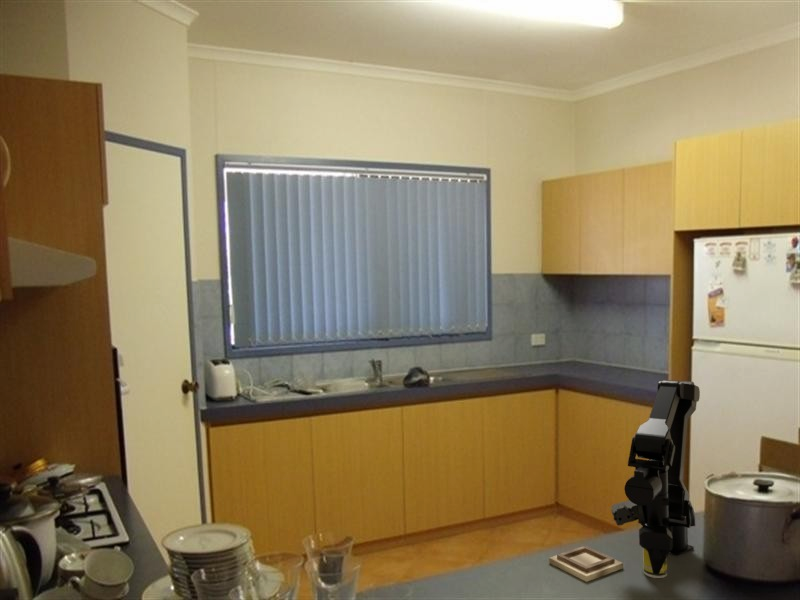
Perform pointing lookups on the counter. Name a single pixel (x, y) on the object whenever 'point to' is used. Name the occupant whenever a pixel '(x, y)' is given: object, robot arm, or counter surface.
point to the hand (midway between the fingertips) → (655, 564)
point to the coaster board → (585, 563)
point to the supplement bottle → (648, 569)
